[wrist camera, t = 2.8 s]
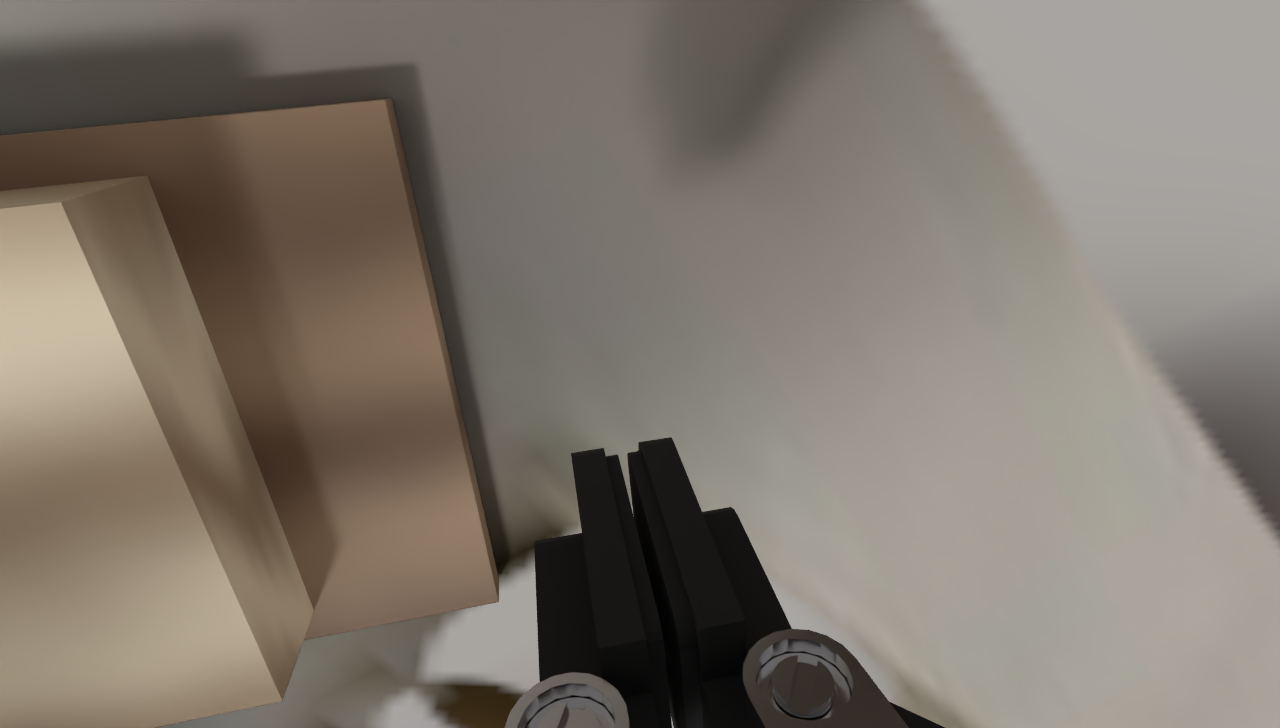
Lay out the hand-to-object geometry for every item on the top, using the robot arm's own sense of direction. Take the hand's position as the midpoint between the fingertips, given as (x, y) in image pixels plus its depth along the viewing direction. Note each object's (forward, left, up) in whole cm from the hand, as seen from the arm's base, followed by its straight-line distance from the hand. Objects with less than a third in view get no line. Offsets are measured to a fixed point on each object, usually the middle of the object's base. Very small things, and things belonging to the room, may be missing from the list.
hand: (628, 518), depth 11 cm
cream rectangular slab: (0, +12, -7) cm, 14 cm away
